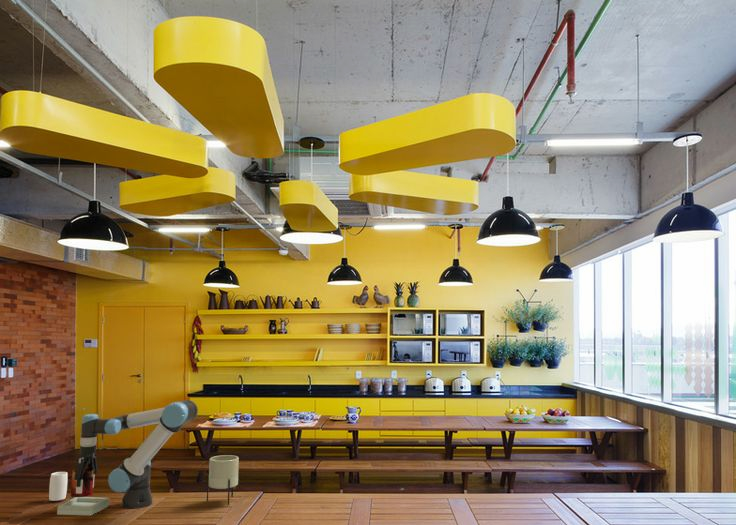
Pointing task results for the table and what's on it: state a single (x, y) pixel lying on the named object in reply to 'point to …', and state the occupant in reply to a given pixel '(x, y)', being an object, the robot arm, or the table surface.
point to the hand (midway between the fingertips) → (84, 490)
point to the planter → (223, 473)
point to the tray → (83, 506)
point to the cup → (58, 486)
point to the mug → (87, 484)
